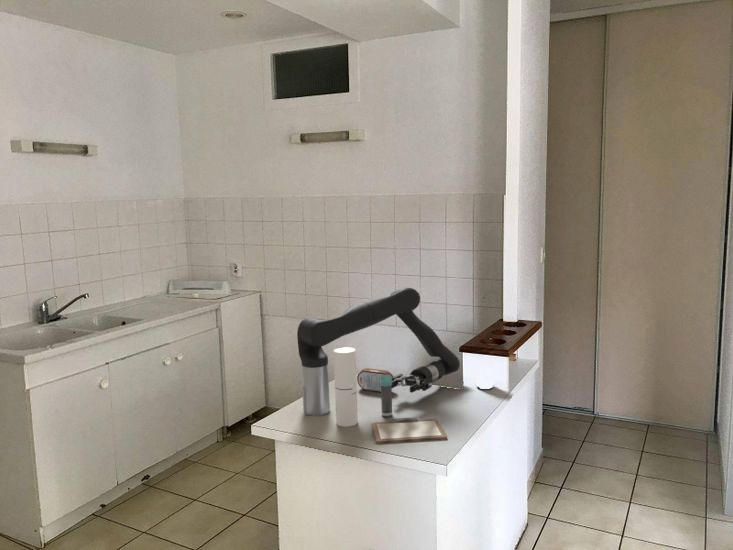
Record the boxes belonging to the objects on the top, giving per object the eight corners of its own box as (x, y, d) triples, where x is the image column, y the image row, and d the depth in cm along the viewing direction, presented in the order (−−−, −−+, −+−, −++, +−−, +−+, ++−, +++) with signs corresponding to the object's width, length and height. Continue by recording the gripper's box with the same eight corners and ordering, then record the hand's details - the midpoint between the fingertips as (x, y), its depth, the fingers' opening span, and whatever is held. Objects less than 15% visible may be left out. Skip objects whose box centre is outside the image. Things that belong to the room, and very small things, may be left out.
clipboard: (376, 443, 186) (376, 438, 186) (371, 425, 201) (371, 419, 200) (447, 439, 188) (447, 433, 187) (437, 420, 202) (437, 415, 202)
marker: (382, 418, 206) (381, 378, 205) (380, 413, 210) (379, 374, 208) (393, 417, 207) (392, 377, 205) (391, 413, 211) (390, 374, 209)
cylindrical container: (333, 420, 205) (330, 348, 202) (352, 417, 208) (350, 346, 205) (340, 428, 199) (338, 354, 195) (360, 424, 202) (358, 351, 198)
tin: (395, 391, 233) (394, 370, 232) (392, 394, 230) (391, 372, 229) (359, 387, 239) (359, 366, 238) (356, 390, 236) (355, 369, 235)
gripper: (408, 363, 231) (383, 374, 218) (441, 369, 222) (417, 380, 210) (408, 382, 232) (384, 394, 219) (441, 388, 223) (417, 401, 211)
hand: (400, 387), depth 214 cm, fingers open, 8 cm apart
